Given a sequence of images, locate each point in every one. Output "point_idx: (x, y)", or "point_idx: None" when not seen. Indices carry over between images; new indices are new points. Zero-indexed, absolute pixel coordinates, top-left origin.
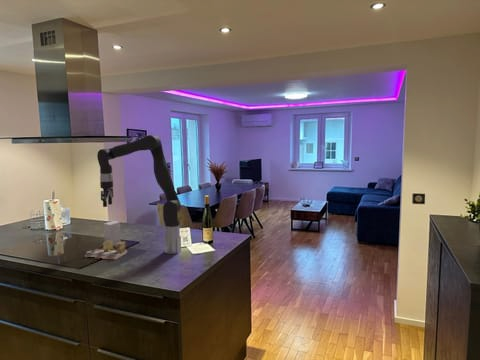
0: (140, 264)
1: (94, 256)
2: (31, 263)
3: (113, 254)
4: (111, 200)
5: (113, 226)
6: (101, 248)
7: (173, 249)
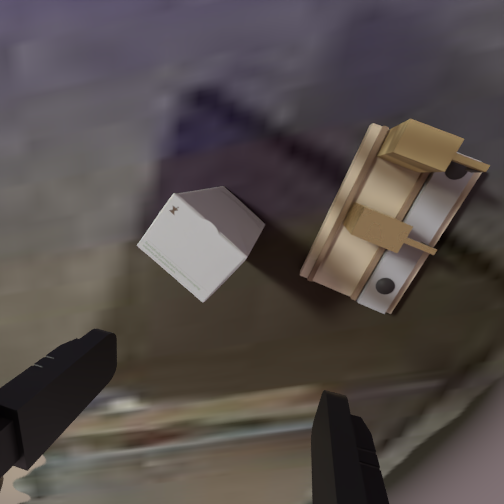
0: None
1: (415, 271)
2: (403, 458)
3: (465, 180)
4: (54, 381)
5: (229, 231)
6: (323, 258)
7: None
